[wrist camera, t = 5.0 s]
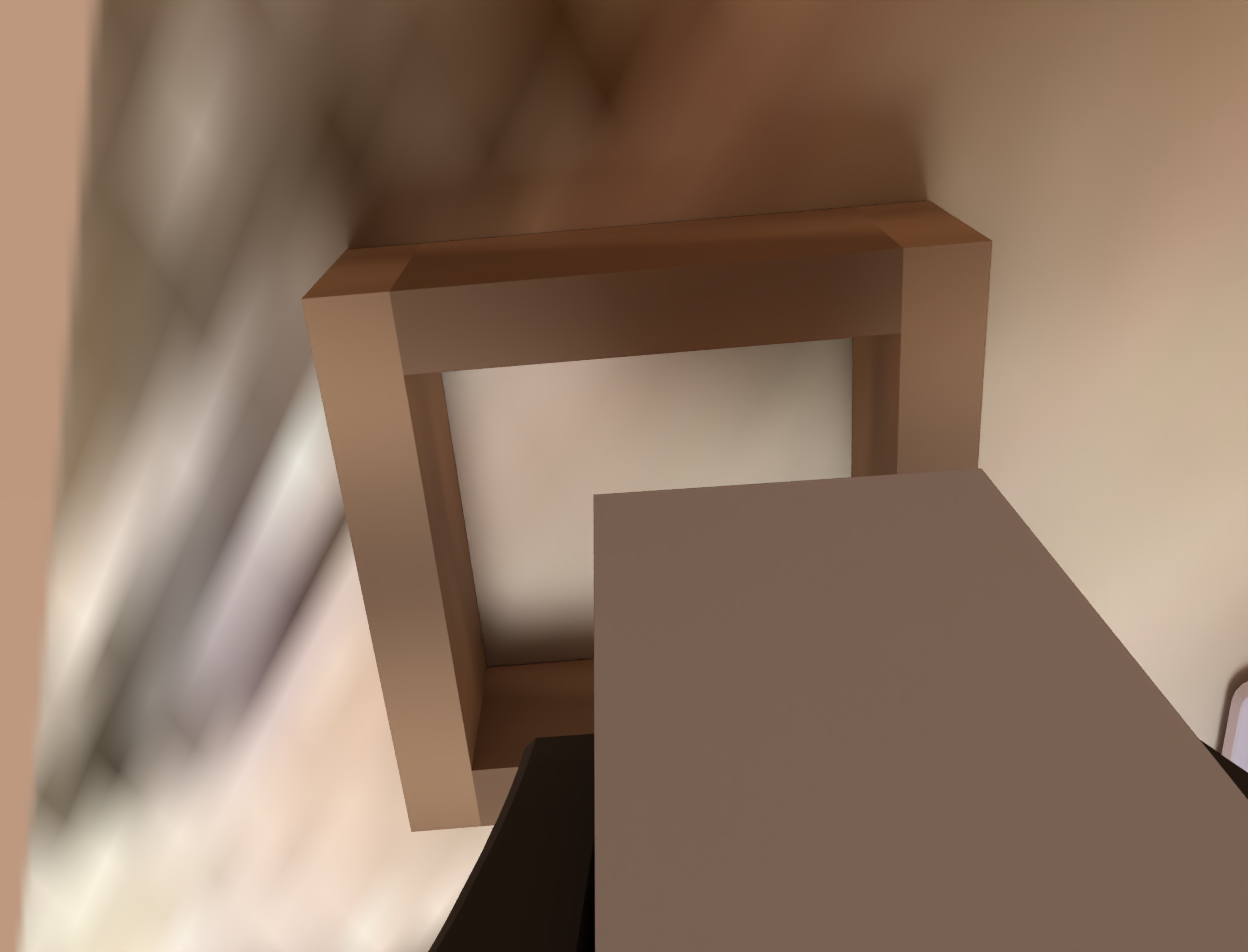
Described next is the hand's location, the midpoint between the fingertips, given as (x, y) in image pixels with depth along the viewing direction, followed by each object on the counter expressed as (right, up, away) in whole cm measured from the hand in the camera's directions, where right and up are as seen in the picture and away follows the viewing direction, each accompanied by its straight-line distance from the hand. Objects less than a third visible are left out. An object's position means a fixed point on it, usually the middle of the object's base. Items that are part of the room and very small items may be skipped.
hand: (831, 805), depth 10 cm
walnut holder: (-1, +3, +10) cm, 10 cm away
